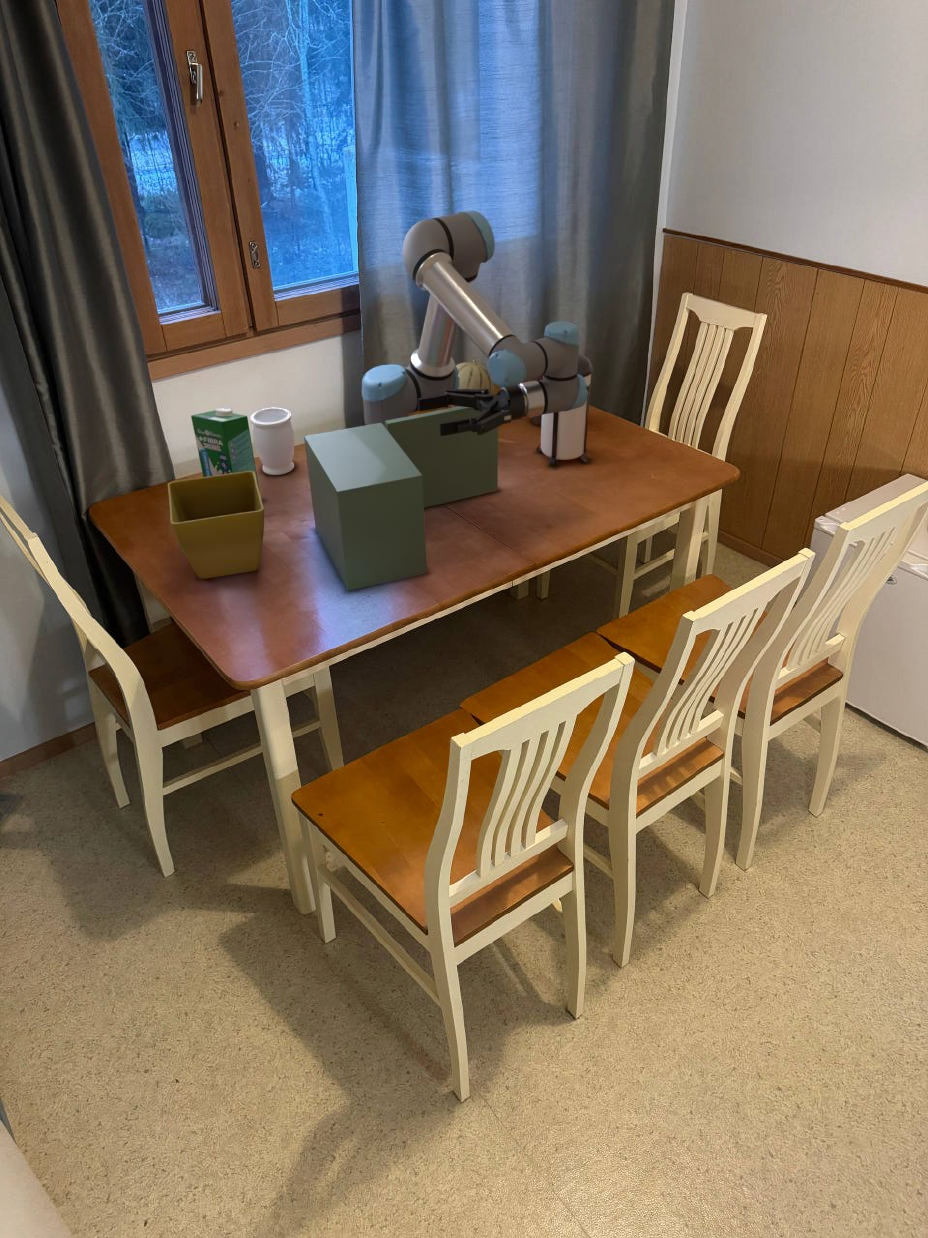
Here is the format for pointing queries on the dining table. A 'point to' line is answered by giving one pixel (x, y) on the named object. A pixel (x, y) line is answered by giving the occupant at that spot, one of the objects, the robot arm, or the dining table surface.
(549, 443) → the coffee press
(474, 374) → the cantaloupe
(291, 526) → the dining table surface
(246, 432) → the milk carton
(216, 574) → the flower pot
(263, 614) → the dining table surface
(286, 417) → the jar
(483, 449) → the cupboard door
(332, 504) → the cupboard
